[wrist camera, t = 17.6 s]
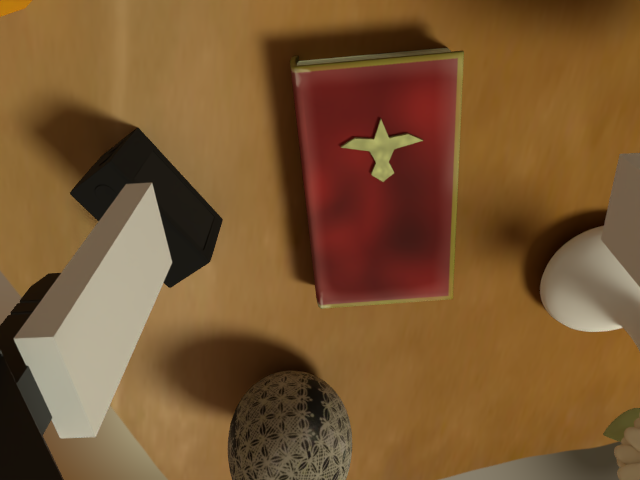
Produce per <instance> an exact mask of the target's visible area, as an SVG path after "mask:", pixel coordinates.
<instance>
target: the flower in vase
mask: <svg viewBox="0 0 640 480" xmlns="http://www.w3.org/2000/svg"><path fill="white" fill-rule="evenodd" d="M603 228H604V226H600V227H596V228H593V229H590V230H588V231H585V232H583V233H581V234H579V235H577V236H575V237H574V238H572V239H571V240H569V241H568V242H567V243H565V244H564V245H563V246H562V247H561V248H560V249H559V250H558V251H557V252H556V253H555V254H554V255H553V257H552V258H551V260H550V261H549V263H548V264H547V266H546V269H545V271H544V273H543V276H542V279H541V284H540V296H541V301H542V303H543V306H544V307H545V309H546V311H547V312H548V313H549V314H550V315H551V316H552V317H553V318H554V319H556V320H557V321H559V322H560V323H562V324H564V325H566V326H567V327H570V328H572V329H576V330H580V331H588V332H598V331H609V330H615V329H619V328H622V327H623V328H624V329H625V330H626V331H627V333H628V334H629V335H630V336H631V338H632V339H633V341H634V342H635V344H636V345H637V347H638V349H639V351H640V287H639V286H638V285H637V283H636V282H635V281H634V280H633V278H632V277H631V276H630V275H629V273H628V272H627V271H626V270H625V269H624V267H623V266H622V265H621V264H620V262H619V261H618V260H617V259H616V258H615V256H614V255H613V254H612V253H611V251H610V250H609V249H608V248H607V247H606V245H605V244H604V243H603V242H602V240H601V237H602V232H603ZM603 435H605V436H607V437H609V438H611V439H614V440H617V441H620V442H621V445H618V446H617V447H616V448H615V449H614V455H615V456H616V458H617V464H618V466H619V467H620V468H619V470H618V472H617V475H618V478H619V479H620V480H640V408H633V409H630V410H628V411H626V412H624V413H623V414H621V415H620V416H618V417H617V418H616V419H615V420H614V421H613V422H612V423H611V424H610V425H609V426H608V428H607V429H606V430H605V432H604V434H603Z"/></svg>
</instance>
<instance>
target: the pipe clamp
mask: <svg viewBox="0 0 640 480" xmlns="http://www.w3.org/2000/svg"><path fill="white" fill-rule="evenodd" d="M31 1H32V0H0V17H1V16H4V15H7V14H10V13H13V12H15V11H18V10H21V9H24V8H26V7H27V6H28V4H29V3H30V2H31Z"/></svg>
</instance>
